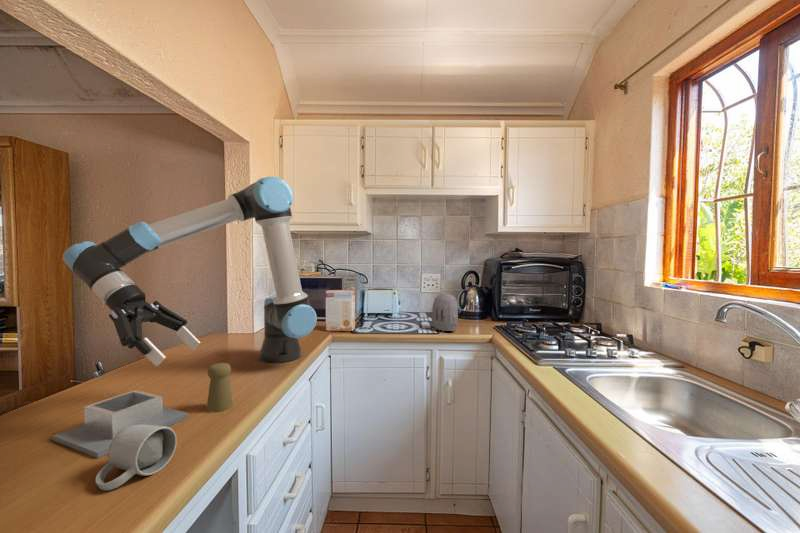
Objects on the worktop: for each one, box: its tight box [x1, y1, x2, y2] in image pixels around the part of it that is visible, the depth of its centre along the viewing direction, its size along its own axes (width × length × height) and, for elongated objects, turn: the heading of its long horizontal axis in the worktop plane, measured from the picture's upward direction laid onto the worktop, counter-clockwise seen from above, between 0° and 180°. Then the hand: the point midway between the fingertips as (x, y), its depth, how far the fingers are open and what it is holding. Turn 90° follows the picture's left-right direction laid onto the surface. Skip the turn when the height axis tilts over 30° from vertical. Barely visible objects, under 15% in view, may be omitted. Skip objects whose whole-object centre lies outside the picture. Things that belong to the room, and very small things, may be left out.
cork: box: [206, 362, 234, 413], centre depth 87 cm, size 6×6×11 cm
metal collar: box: [83, 389, 164, 439], centre depth 76 cm, size 10×10×5 cm
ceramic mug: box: [95, 425, 177, 491], centre depth 61 cm, size 11×8×8 cm
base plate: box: [52, 405, 189, 459], centre depth 76 cm, size 18×16×1 cm
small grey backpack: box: [431, 292, 459, 332], centre depth 176 cm, size 15×8×20 cm, turn 44°
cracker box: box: [325, 289, 356, 332], centre depth 176 cm, size 14×6×21 cm, turn 82°
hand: (180, 353), depth 87 cm, fingers open, 13 cm apart
